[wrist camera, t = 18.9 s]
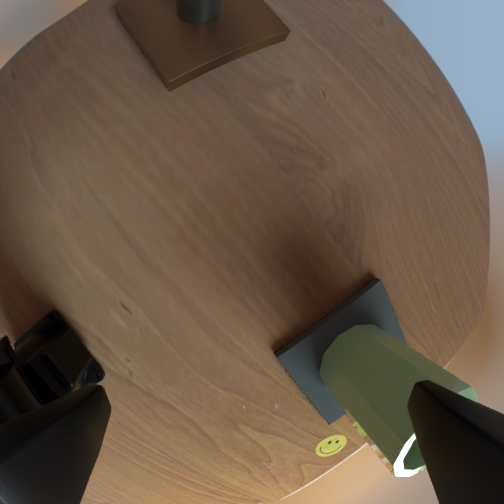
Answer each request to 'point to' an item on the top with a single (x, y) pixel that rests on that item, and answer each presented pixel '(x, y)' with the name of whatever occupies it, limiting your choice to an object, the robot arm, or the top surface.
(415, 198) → the top surface
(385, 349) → the green faceted tube
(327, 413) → the mat
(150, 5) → the stand
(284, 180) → the top surface
